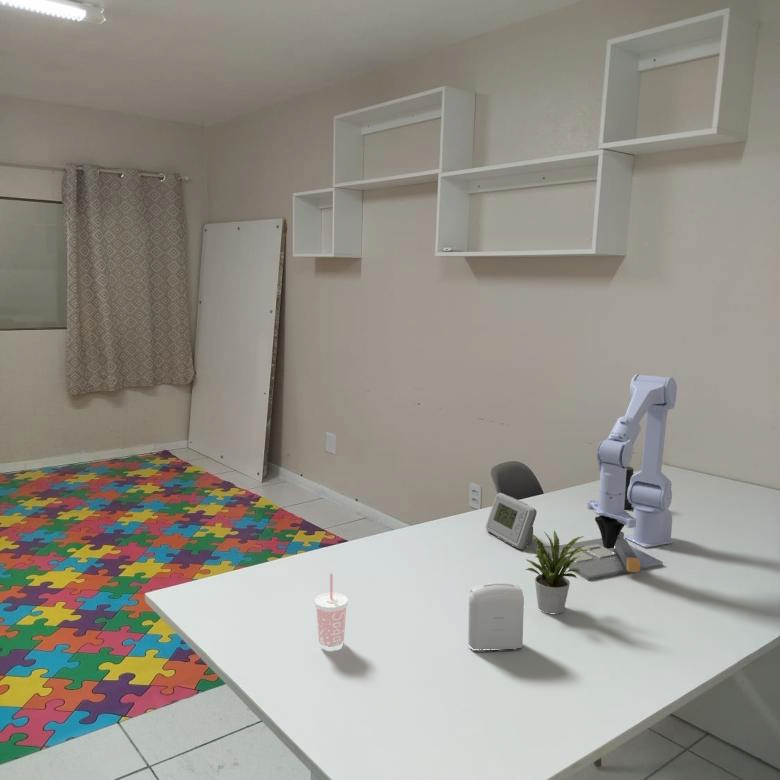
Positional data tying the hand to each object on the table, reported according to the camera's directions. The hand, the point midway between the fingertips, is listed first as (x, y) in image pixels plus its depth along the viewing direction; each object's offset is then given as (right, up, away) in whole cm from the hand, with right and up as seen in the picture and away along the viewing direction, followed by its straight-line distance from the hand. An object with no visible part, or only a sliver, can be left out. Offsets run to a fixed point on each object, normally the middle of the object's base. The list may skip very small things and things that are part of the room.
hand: (608, 547), depth 167 cm
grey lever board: (0, -5, +7) cm, 9 cm away
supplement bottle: (+19, +2, +48) cm, 51 cm away
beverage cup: (-62, -11, -34) cm, 72 cm away
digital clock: (-20, -3, +20) cm, 28 cm away
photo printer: (-32, -11, -34) cm, 48 cm away
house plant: (-16, -9, -19) cm, 27 cm away
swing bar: (+5, -4, +3) cm, 7 cm away
